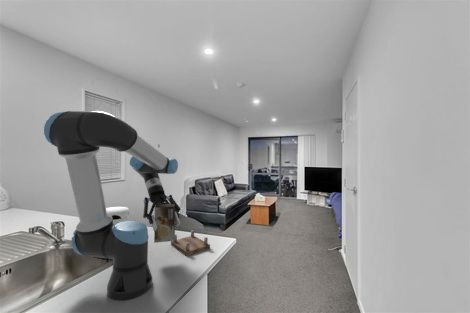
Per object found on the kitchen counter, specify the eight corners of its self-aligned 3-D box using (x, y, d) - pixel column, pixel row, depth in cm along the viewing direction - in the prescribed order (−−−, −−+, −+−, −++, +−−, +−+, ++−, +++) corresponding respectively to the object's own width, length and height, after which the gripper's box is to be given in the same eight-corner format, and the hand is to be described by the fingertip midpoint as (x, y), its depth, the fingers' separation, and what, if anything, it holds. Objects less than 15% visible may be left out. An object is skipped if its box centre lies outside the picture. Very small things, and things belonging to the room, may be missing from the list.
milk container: (131, 234, 134) (131, 205, 134) (129, 245, 118) (129, 212, 118) (98, 238, 127) (98, 207, 127) (91, 250, 111) (92, 215, 111)
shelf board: (186, 256, 107) (186, 245, 107) (170, 244, 120) (171, 234, 120) (209, 248, 116) (210, 238, 116) (193, 238, 129) (193, 229, 129)
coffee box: (174, 236, 107) (175, 203, 107) (174, 241, 101) (175, 206, 101) (154, 237, 105) (155, 204, 105) (153, 243, 99) (154, 207, 99)
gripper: (173, 191, 122) (186, 226, 110) (129, 195, 107) (139, 236, 95) (178, 182, 118) (192, 218, 106) (133, 185, 103) (144, 227, 91)
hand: (167, 227), depth 101 cm, fingers closed on coffee box, 10 cm apart
